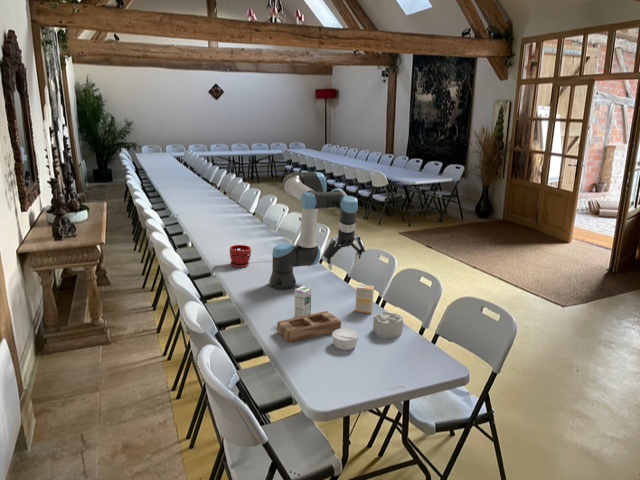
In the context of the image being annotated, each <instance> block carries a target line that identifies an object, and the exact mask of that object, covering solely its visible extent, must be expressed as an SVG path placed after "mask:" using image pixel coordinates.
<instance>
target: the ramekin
mask: <svg viewBox="0 0 640 480" xmlns="http://www.w3.org/2000/svg"><path fill="white" fill-rule="evenodd" d="M331 338H332V343H333V345H334V347H335V348H336V349H339V350H342V351H350V350H354V348H355V347H356V345H357V342H358V339H359V334H358V332H357V331H356V330H354V329H351V328H346V327H345V328H342V327H341V329H337V330H335V331H334V332H333V333H331Z"/></svg>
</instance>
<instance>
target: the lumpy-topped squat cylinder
mask: <svg viewBox="0 0 640 480" xmlns="http://www.w3.org/2000/svg"><path fill="white" fill-rule="evenodd" d="M372 323H373V325H372V332H373V333H375V334H376V336H377V337H379V338H383V339H389V338H397V337H398V336H401V335H402V333H403V327H404V316H403V315H401V314H397V312H389V311H387V310H385V311H382V312H381V313H376V314H375V315H374V316H373V322H372Z"/></svg>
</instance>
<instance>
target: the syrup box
mask: <svg viewBox="0 0 640 480" xmlns="http://www.w3.org/2000/svg"><path fill="white" fill-rule="evenodd" d="M311 307H312V288H310V287H307V286H304V285H302V286H300V287H298V288H295V289H294V318H297V317H302V316H306V315H311V314H312V313H311V311H312V308H311Z"/></svg>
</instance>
